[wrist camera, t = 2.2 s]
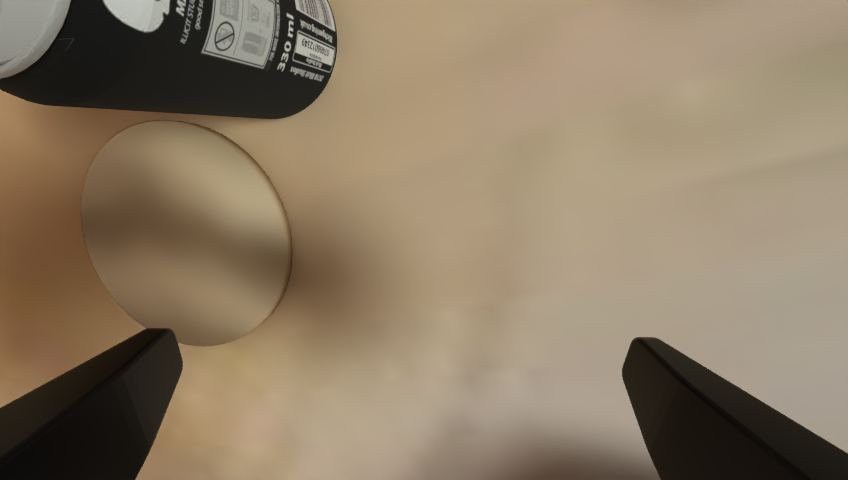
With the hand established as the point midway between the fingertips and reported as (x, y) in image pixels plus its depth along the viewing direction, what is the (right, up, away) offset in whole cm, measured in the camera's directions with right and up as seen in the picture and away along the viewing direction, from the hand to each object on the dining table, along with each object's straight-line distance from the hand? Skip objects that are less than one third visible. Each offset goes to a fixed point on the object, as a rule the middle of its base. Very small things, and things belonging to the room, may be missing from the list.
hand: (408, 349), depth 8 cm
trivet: (-12, +2, +14) cm, 19 cm away
